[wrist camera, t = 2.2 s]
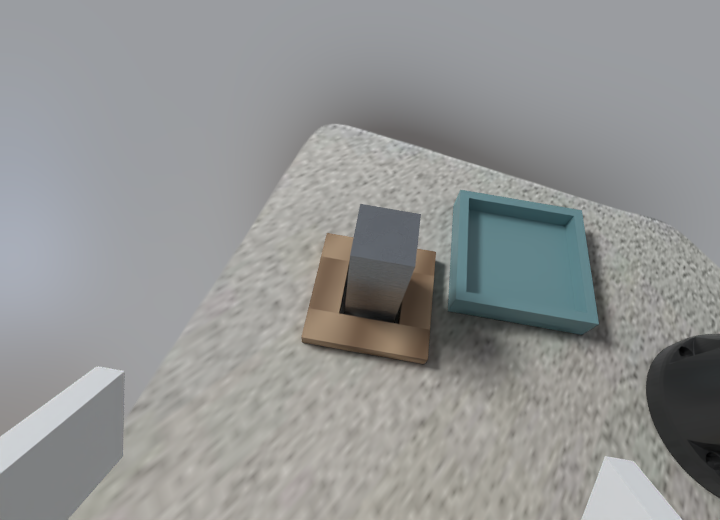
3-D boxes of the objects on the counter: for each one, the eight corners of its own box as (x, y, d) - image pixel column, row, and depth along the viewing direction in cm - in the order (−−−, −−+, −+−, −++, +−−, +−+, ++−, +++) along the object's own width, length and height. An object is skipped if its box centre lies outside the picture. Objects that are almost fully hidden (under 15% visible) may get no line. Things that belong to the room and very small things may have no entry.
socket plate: (432, 258, 45) (435, 251, 44) (424, 364, 39) (427, 359, 38) (326, 240, 45) (326, 232, 44) (302, 342, 39) (301, 337, 38)
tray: (568, 225, 49) (581, 210, 46) (582, 334, 42) (598, 324, 39) (453, 205, 49) (460, 189, 46) (447, 311, 42) (455, 299, 39)
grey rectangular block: (398, 281, 43) (420, 214, 33) (392, 324, 41) (415, 266, 31) (352, 273, 44) (360, 204, 33) (344, 315, 41) (350, 255, 31)
